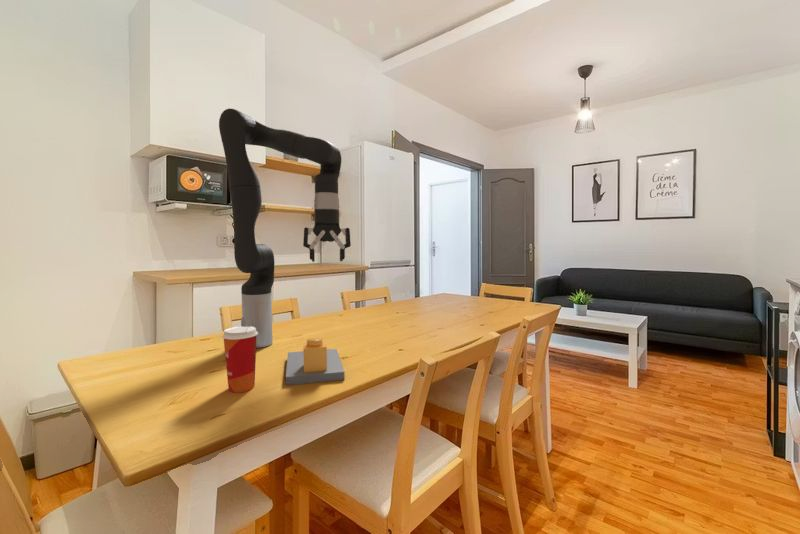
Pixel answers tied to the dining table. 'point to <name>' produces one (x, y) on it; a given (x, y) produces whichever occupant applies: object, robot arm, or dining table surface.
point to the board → (298, 375)
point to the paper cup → (240, 357)
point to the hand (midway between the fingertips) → (327, 261)
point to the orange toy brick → (315, 355)
